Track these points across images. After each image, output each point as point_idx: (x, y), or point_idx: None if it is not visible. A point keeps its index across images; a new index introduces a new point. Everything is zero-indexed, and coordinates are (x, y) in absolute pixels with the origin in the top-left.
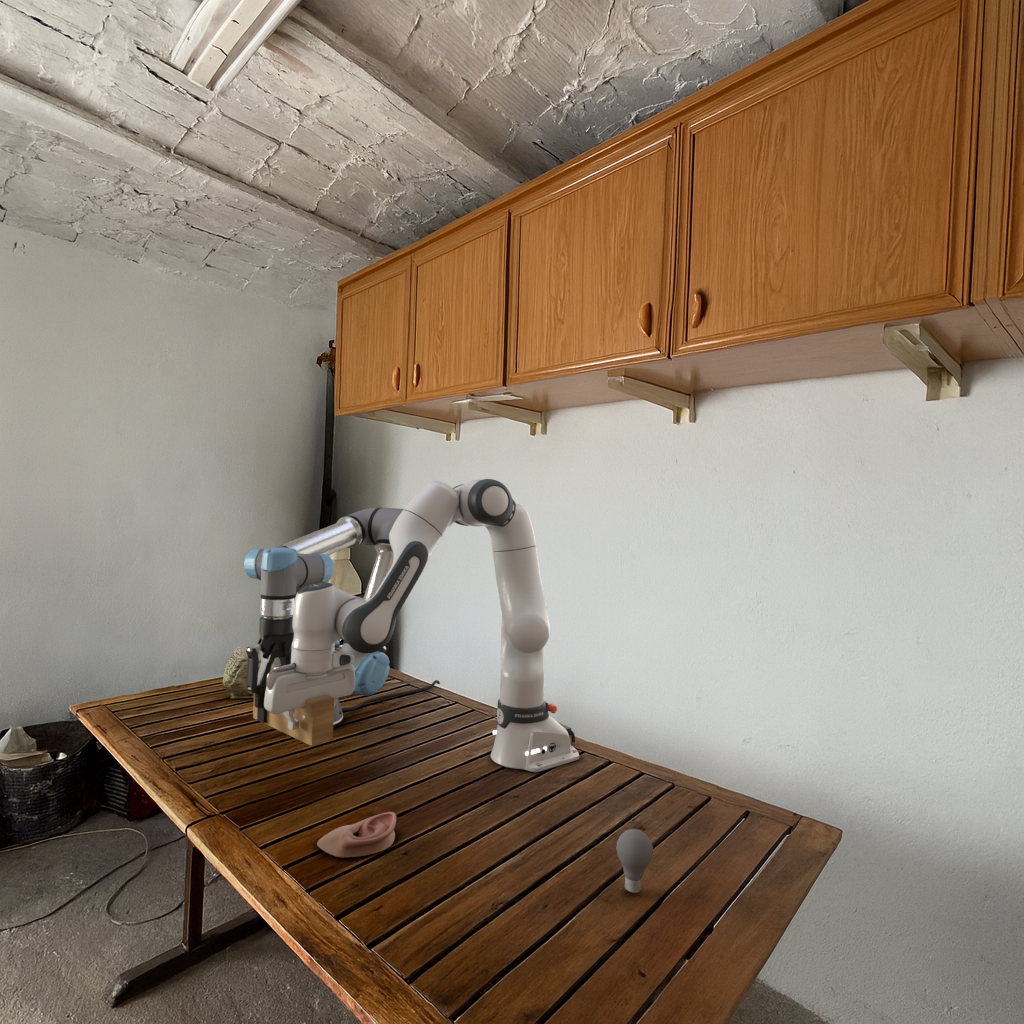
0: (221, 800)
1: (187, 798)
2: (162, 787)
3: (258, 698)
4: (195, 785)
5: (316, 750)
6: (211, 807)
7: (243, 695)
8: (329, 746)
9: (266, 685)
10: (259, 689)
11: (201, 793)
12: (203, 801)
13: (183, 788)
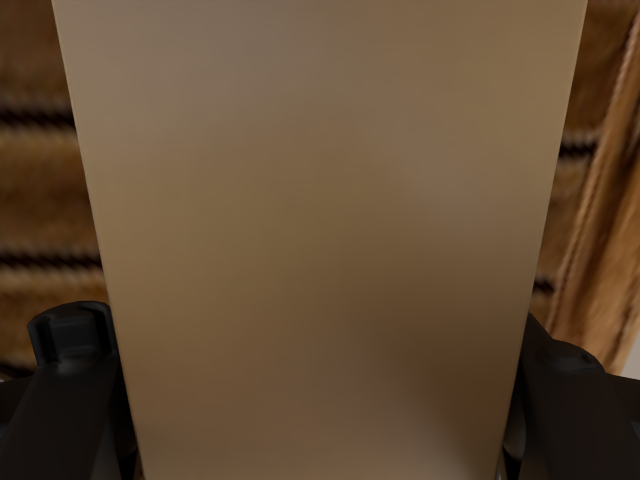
0: (577, 85)
1: (630, 188)
2: (618, 315)
3: (541, 330)
4: (551, 260)
5: (84, 230)
6: (634, 57)
7: None
8: (23, 228)
9: (499, 425)
10: (606, 391)
11: (579, 190)
12: (617, 126)
13: (587, 265)
